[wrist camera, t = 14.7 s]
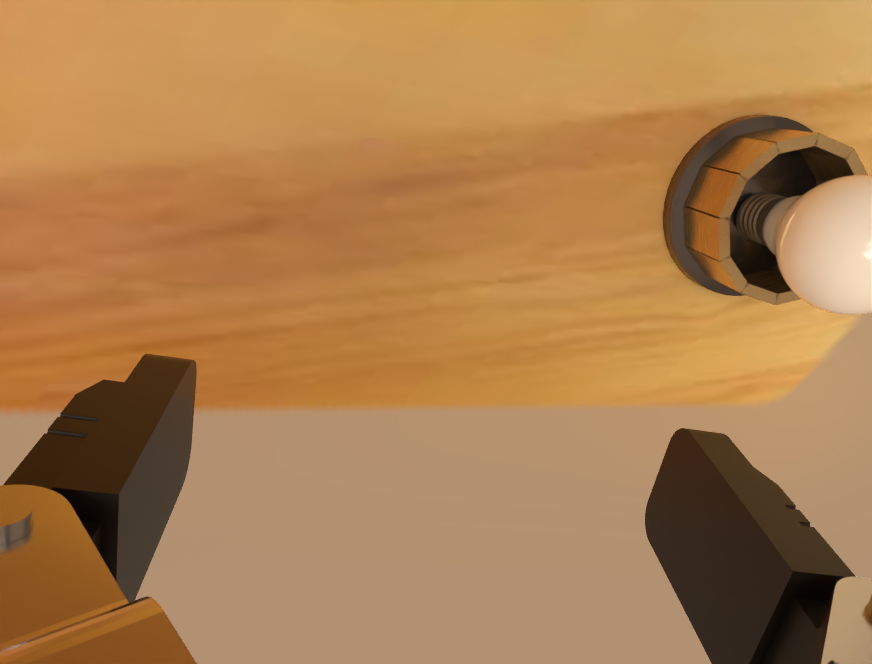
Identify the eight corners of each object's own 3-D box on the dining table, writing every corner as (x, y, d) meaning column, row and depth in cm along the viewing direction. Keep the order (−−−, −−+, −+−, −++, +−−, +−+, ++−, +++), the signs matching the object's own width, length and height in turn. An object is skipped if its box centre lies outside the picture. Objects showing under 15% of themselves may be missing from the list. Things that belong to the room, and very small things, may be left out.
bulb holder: (658, 134, 39) (702, 143, 35) (826, 99, 40) (889, 103, 36) (667, 307, 43) (708, 333, 39) (821, 270, 44) (877, 292, 40)
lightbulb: (822, 213, 42) (996, 261, 31) (737, 291, 42) (881, 362, 32) (766, 130, 39) (934, 153, 29) (677, 214, 40) (812, 264, 30)
